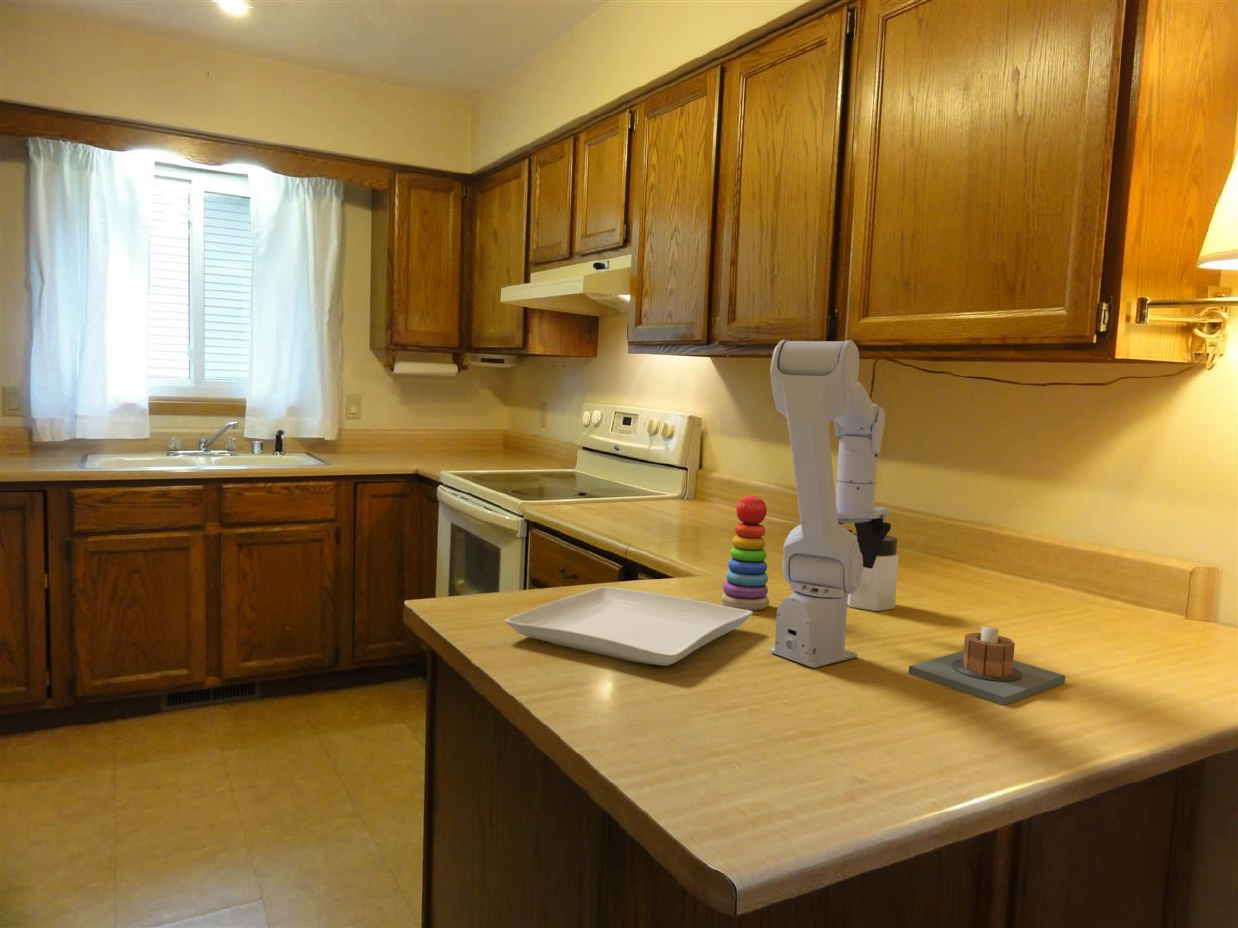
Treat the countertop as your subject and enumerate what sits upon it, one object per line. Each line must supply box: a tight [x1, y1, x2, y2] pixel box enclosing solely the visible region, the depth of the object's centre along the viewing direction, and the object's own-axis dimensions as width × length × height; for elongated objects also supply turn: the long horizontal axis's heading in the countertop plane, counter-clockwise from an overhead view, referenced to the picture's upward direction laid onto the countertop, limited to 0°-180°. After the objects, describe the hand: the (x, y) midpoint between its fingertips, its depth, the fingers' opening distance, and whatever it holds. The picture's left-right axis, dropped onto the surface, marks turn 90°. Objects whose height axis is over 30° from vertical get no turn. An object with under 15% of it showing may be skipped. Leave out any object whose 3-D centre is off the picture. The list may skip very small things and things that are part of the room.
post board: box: [908, 626, 1066, 706], centre depth 110 cm, size 15×13×7 cm
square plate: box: [504, 586, 754, 667], centre depth 123 cm, size 27×27×4 cm
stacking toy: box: [721, 495, 770, 612], centre depth 141 cm, size 8×8×19 cm
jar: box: [847, 532, 899, 612], centre depth 146 cm, size 9×8×12 cm
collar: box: [963, 632, 1016, 677], centre depth 110 cm, size 6×6×4 cm
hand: (850, 569), depth 129 cm, fingers open, 7 cm apart
